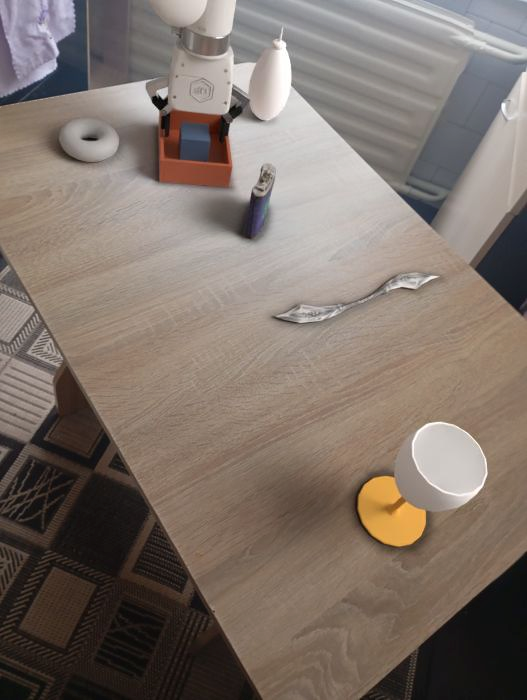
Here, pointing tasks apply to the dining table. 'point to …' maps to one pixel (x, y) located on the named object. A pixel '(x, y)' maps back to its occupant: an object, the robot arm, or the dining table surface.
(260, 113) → the sauce bottle
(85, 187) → the dining table surface
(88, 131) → the donut
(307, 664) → the dining table surface
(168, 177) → the bin
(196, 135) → the block
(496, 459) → the dining table surface
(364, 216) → the dining table surface
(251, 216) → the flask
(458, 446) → the cup
